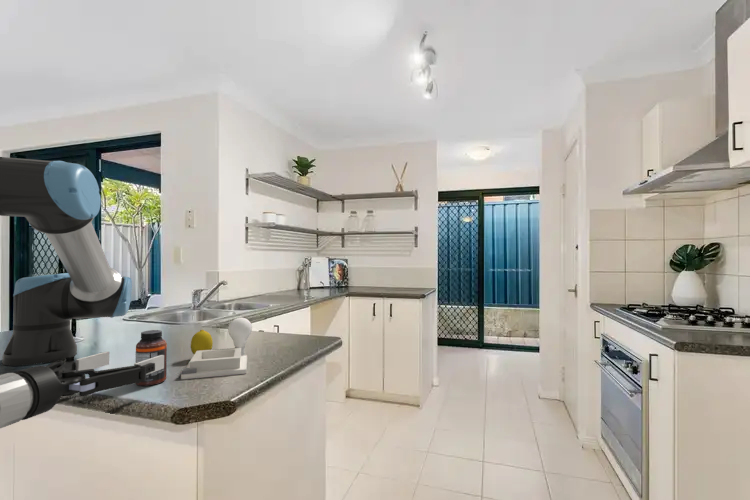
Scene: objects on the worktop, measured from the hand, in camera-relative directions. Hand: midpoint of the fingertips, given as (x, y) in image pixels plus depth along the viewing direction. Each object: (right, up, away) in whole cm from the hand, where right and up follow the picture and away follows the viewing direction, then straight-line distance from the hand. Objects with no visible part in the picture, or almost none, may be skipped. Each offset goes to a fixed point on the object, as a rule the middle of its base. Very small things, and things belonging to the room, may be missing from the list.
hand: (134, 359), depth 76 cm
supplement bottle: (+1, -7, +5) cm, 8 cm away
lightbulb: (+12, -7, +26) cm, 30 cm away
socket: (+11, -7, +15) cm, 20 cm away
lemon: (+2, -7, +24) cm, 25 cm away
